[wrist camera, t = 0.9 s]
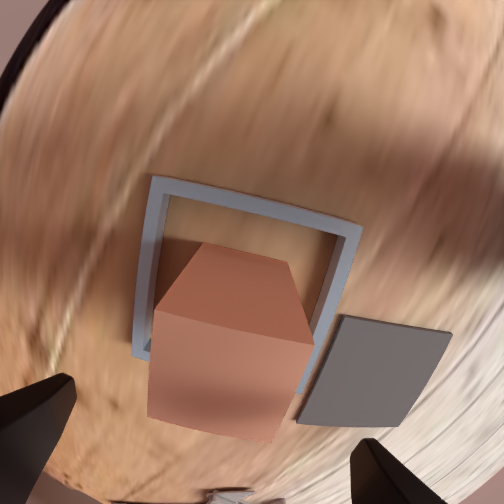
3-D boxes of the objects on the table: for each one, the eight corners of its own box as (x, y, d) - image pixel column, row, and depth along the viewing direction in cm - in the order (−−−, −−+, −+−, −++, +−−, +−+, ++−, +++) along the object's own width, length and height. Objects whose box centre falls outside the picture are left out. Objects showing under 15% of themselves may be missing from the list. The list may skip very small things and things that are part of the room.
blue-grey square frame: (354, 222, 17) (363, 226, 15) (298, 380, 20) (301, 394, 18) (161, 175, 16) (152, 175, 15) (138, 344, 19) (131, 356, 18)
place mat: (450, 332, 19) (453, 334, 18) (396, 423, 21) (398, 426, 21) (343, 314, 18) (344, 316, 18) (296, 420, 21) (296, 423, 20)
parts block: (287, 262, 17) (315, 345, 9) (265, 334, 19) (271, 442, 10) (203, 242, 17) (154, 309, 8) (189, 316, 18) (147, 416, 10)
